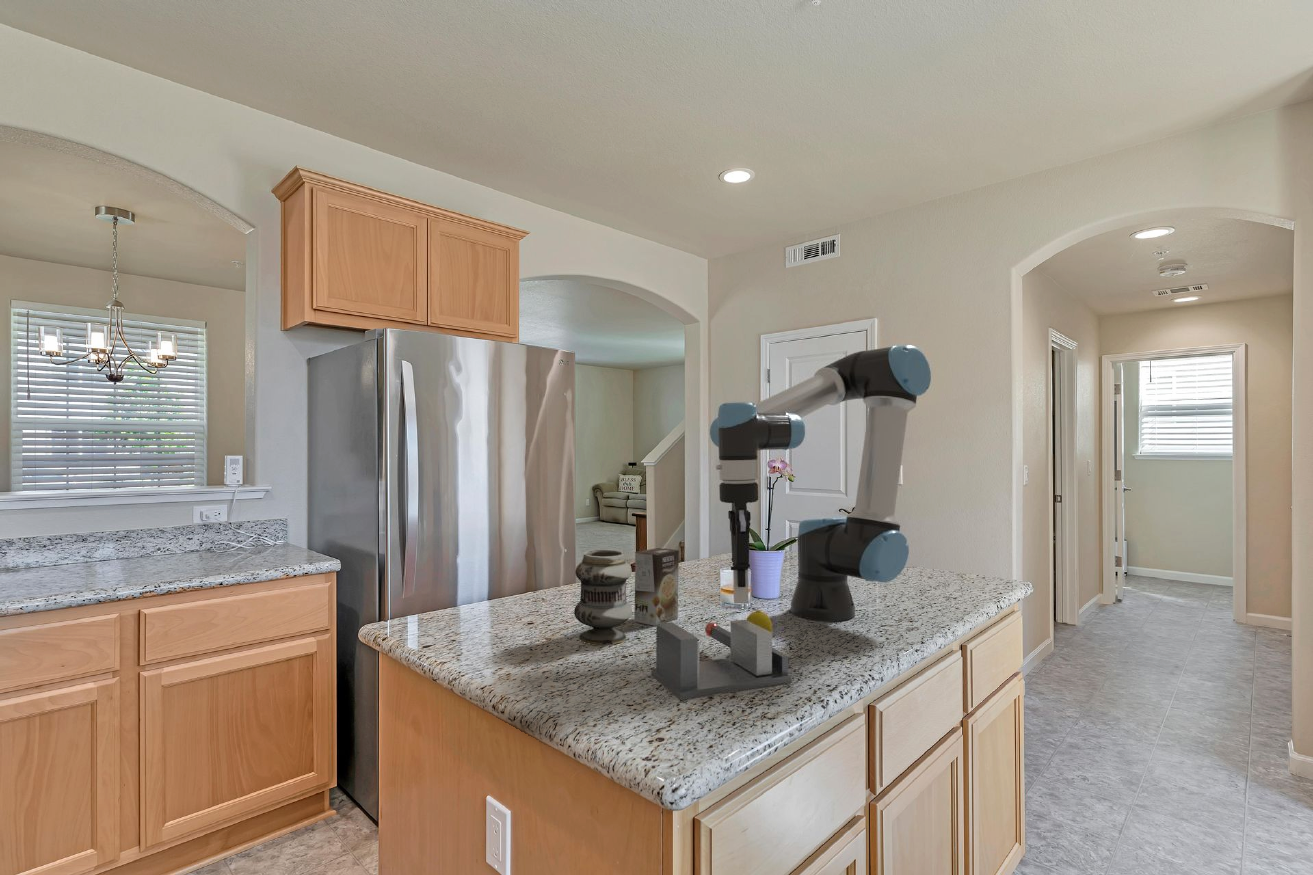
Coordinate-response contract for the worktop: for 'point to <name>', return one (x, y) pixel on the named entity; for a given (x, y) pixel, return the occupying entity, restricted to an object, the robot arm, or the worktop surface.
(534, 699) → the worktop surface
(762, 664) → the free jaw
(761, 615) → the lemon
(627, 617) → the apothecary jar
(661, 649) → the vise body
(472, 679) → the worktop surface
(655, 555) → the coffee box
